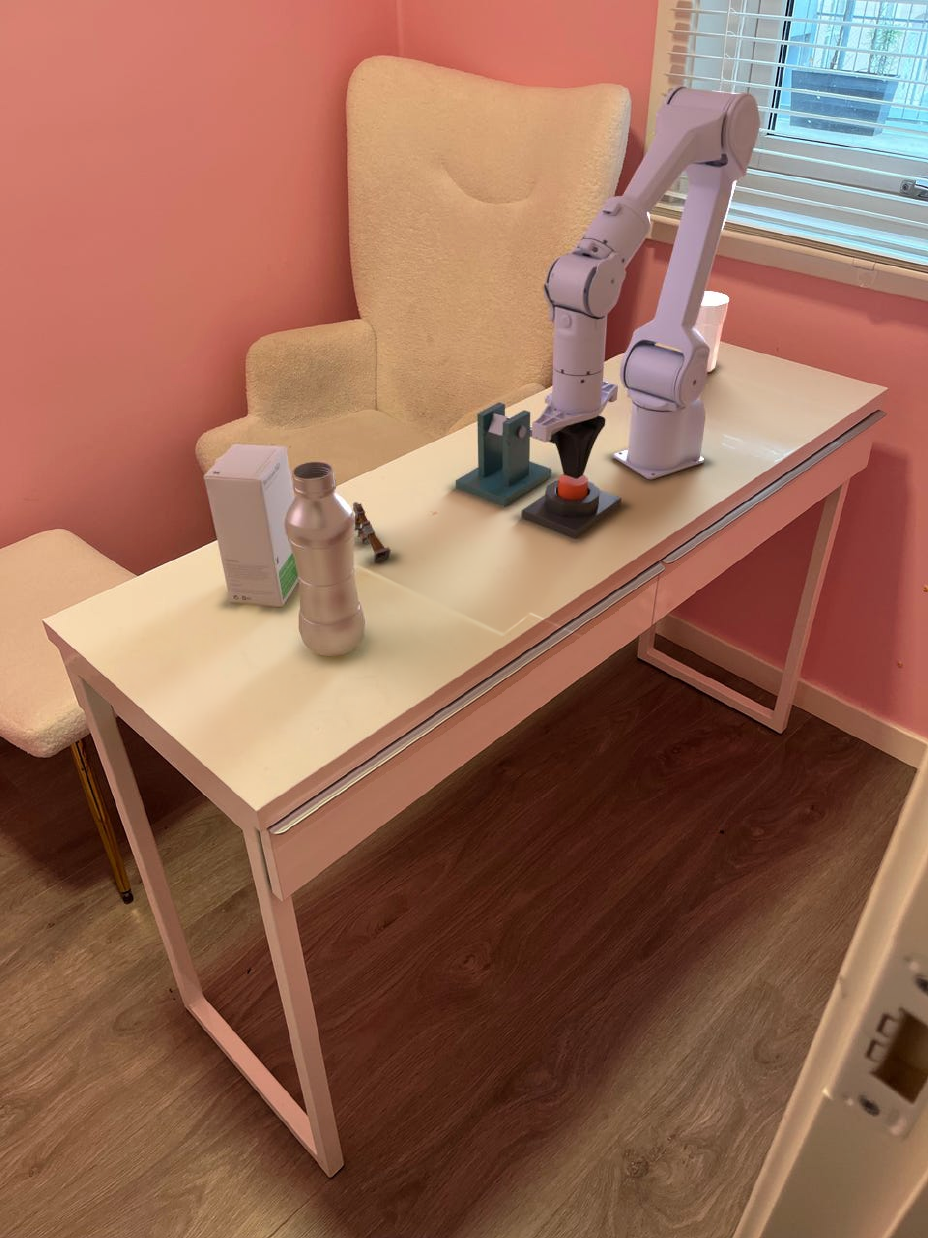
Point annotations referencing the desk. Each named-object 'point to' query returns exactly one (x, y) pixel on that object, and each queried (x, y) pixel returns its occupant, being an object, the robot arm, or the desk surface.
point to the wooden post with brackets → (368, 533)
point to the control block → (571, 510)
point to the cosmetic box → (253, 523)
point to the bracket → (503, 460)
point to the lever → (497, 426)
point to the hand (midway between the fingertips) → (573, 474)
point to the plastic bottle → (324, 562)
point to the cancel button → (572, 487)
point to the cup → (712, 323)
